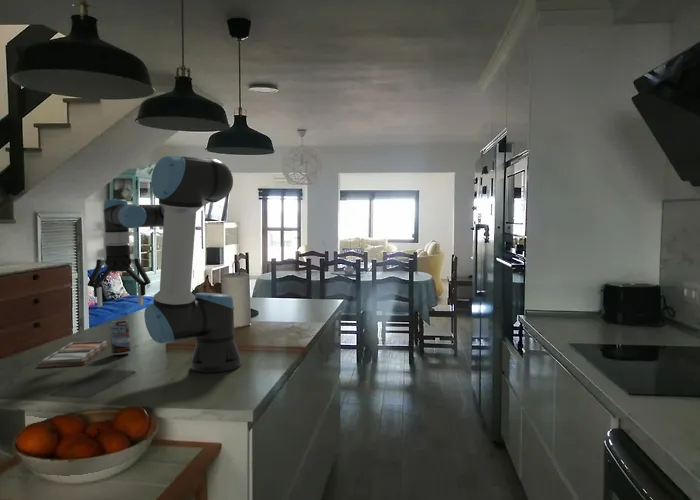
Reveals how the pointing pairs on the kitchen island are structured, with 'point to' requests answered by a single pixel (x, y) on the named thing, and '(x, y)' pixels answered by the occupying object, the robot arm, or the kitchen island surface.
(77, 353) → the framed panel board
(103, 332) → the kitchen island surface
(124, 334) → the beverage can
